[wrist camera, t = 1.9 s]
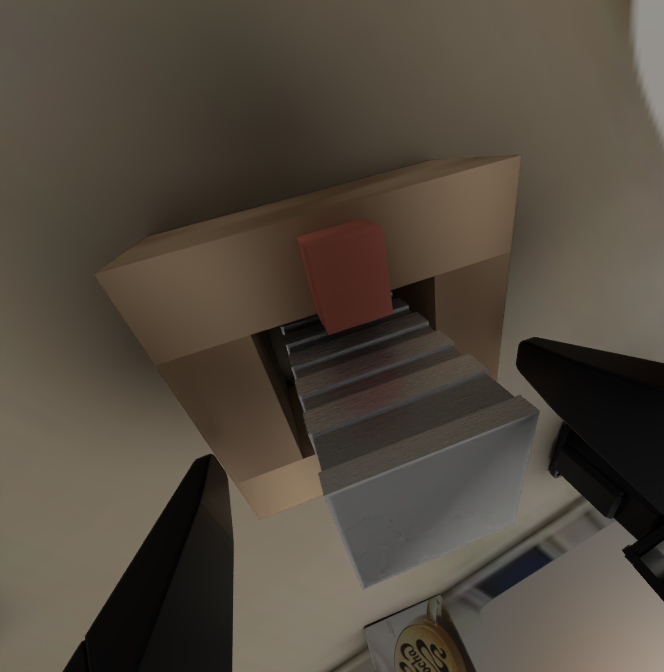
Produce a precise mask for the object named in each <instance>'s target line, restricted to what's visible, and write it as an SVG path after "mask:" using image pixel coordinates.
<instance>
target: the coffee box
mask: <svg viewBox="0 0 664 672" xmlns="http://www.w3.org/2000/svg"><path fill="white" fill-rule="evenodd" d="M364 631H365V635H366V639H367V643H368V647H369V651H370V654H371V658H372V662H373V665H374V669H375V672H477V671H476V669H475V667H474V664H473V662H472V660H471V658H470V656H469V654H468V652H467V650H466V648H465V646H464V644H463V641H462V639H461V637H460V635H459V633H458V631H457V629H456V627H455V625H454V623H453V621H452V619H451V616H450V614H449V612H448V610H447V608H446V606H445V603H444V601H443V599H442V596H441V595H437V596H435V597H433V598H431V599H428V600H426V601H424V602H422V603H420V604H417V605H415V606H413V607H411V608H409V609H406V610H404V611H402V612H400V613H398V614H395V615H393V616H391V617H389V618H386V619H384V620H382V621H380V622H378V623H375V624H373V625H371V626H369V627H366V628H365V629H364Z"/></svg>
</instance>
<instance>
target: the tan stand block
mask: <svg viewBox="0 0 664 672" xmlns="http://www.w3.org/2000/svg"><path fill="white" fill-rule="evenodd" d="M520 163H521V155H513V156H495V157H476V158H457V159H439V160H429V161H426V162H422V163H418V164H415V165H411V166H407V167H403V168H400V169H396V170H392V171H389V172H385V173H381V174H378V175H374V176H370V177H366V178H363V179H359V180H355V181H352V182H348V183H344V184H340V185H337V186H333V187H329V188H326V189H322V190H318V191H314V192H311V193H307V194H303V195H300V196H296V197H292V198H288V199H285V200H281V201H277V202H274V203H270V204H266V205H263V206H259V207H255V208H251V209H248V210H244V211H240V212H237V213H233V214H229V215H225V216H222V217H218V218H214V219H211V220H207V221H203V222H199V223H196V224H192V225H188V226H185V227H181V228H177V229H174V230H170V231H166V232H162V233H159V234H155V235H151V236H148V237H145V238H144V239H142V240H141V241H140V242H138V243H137V244H135V245H134V246H133V247H131V248H130V249H128V250H127V251H125V252H124V253H123V254H121V255H120V256H118V257H117V258H116V259H114V260H113V261H111V262H110V263H108V264H107V265H106V266H104V267H103V268H101V269H100V270H98V271H97V272H96V273H94V276H95V277H96V279H97V280H98V282H99V283H100V285H101V286H102V288H103V289H104V291H105V292H106V294H107V295H108V297H109V298H110V300H111V301H112V303H113V304H114V306H115V307H116V309H117V310H118V312H119V313H120V314H121V316H122V317H123V319H124V320H125V322H126V323H127V325H128V326H129V328H130V329H131V331H132V332H133V334H134V335H135V337H136V338H137V340H138V341H139V343H140V344H141V346H142V347H143V349H144V350H145V352H146V353H147V354H148V356H149V357H150V359H151V360H152V362H153V363H154V365H155V366H156V368H157V369H158V371H159V372H160V374H161V375H162V377H163V378H164V380H165V381H166V383H167V384H168V386H169V387H170V389H171V390H172V392H173V393H174V394H175V396H176V397H177V399H178V400H179V402H180V403H181V405H182V406H183V408H184V409H185V411H186V412H187V414H188V415H189V417H190V418H191V420H192V421H193V423H194V424H195V426H196V427H197V429H198V430H199V432H200V433H201V434H202V436H203V437H204V439H205V440H206V442H207V443H208V445H209V446H210V448H211V449H212V451H213V452H214V454H215V455H216V457H217V458H218V460H219V461H220V463H221V464H222V466H223V467H224V469H225V470H226V472H227V473H228V474H229V476H230V477H231V479H232V480H233V482H234V483H235V485H236V486H237V488H238V489H239V491H240V492H241V494H242V495H243V497H244V498H245V500H246V501H247V503H248V504H249V506H250V507H251V509H252V510H253V512H254V513H255V514H256V516H257V517H258V519H259V520H261V519H263V518H266V517H269V516H271V515H274V514H276V513H279V512H281V511H284V510H286V509H289V508H291V507H294V506H296V505H299V504H301V503H304V502H307V501H309V500H312V499H314V498H317V497H319V496H322V495H323V491H322V487H321V483H320V479H319V475H318V473H319V472H321V467H320V464H319V462H318V459H317V456H316V454H315V451H314V449H313V446H312V443H311V441H310V438H309V436H308V432H307V428H306V424H305V420H304V416H303V412H304V410H303V407H302V405H301V402H300V399H299V396H298V393H297V389H296V385H294V386H291V387H289V388H288V387H287V384H286V382H285V379H284V377H283V374H282V372H281V369H280V366H279V364H278V361H277V359H276V356H275V354H274V351H273V349H272V346H271V343H270V341H269V338H268V336H267V333H266V331H265V330H267V329H271V328H274V327H277V326H280V325H283V324H286V323H289V322H292V321H296V320H299V319H302V318H305V317H308V316H311V315H314V314H318V316H319V318H320V320H321V322H322V324H323V326H324V327H325V329H326V331H327V333H328V335H330V334H333V333H336V332H339V331H342V330H345V329H348V328H351V327H354V326H358V325H361V324H364V323H367V322H370V321H373V320H376V319H379V318H382V317H385V316H388V315H391V314H393V308H392V300H391V291H392V295H393V297H395V298H400V299H402V300H403V301H404V302H405V303H407V304H408V306H409V310H410V311H412V312H413V313H415V312H418V313H419V314H420V315H421V316H423V317H424V318H425V319H426V320H428V321H429V326H430V327H431V328H432V329H433V330H434V331H438V330H440V331H441V332H442V333H444V334H445V335H446V336H447V337H449V338H450V339H451V340H452V341H454V347H455V348H456V349H457V350H459V351H460V352H461V353H462V354H463V355H465V354H468V353H469V354H470V355H471V356H472V357H474V358H475V359H476V360H477V361H478V362H480V363H481V364H482V365H483V366H485V367H486V368H487V369H488V375H489V376H490V377H491V378H492V379H494V380H495V381H496V382H497V373H498V364H499V354H500V345H501V336H502V327H503V318H504V309H505V300H506V291H507V281H508V272H509V263H510V254H511V245H512V236H513V227H514V218H515V208H516V199H517V190H518V181H519V172H520Z"/></svg>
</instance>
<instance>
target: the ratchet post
mask: <svg viewBox="0 0 664 672" xmlns="http://www.w3.org/2000/svg"><path fill="white" fill-rule="evenodd" d="M391 300H392V308H393V314H391V315H388V316H385V317H382V318H379V319H376V320H373V321H370V322H367V323H364V324H361V325H358V326H354V327H351V328H348V329H345V330H342V331H339V332H336V333H333V334H330V335H328V333H327V331H326V329H325V327H324V326H323V324H322V322H321V320H320V318H319V316H318V314H314V315H311V316H308V317H305V318H302V319H299V320H296V321H292V322H289V323H286V324H283V325H280V326H281V329H282V332H283V337H284V341H285V345H286V348H287V351H288V354H289V355H288V357H289V361H290V365H291V369H292V371H293V374H294V377H295V380H294V381H295V385H296V389H297V393H298V396H299V399H300V402H301V405H302V407H303V410H304V412H303V416H304V420H305V424H306V428H307V432H308V436H309V438H310V441H311V443H312V446H313V449H314V451H315V454H316V456H317V459H318V462H319V464H320V467H321V472H319V473H318V475H319V479H320V483H321V487H322V491H323V495H324V498H325V500H326V503H327V505H328V507H329V510H330V512H331V515H332V517H333V520H334V522H335V524H336V527H337V529H338V532H339V534H340V537H341V539H342V541H343V544H344V546H345V549H346V551H347V553H348V556H349V558H350V561H351V563H352V566H353V568H354V570H355V573H356V575H357V578H358V580H359V583H360V585H361V587H362V590H364V589H366V588H368V587H371V586H373V585H375V584H378V583H380V582H382V581H384V580H387V579H389V578H391V577H393V576H396V575H398V574H400V573H402V572H405V571H407V570H409V569H412V568H414V567H416V566H418V565H421V564H423V563H425V562H427V561H430V560H432V559H434V558H437V557H439V556H441V555H443V554H446V553H448V552H450V551H452V550H455V549H457V548H459V547H462V546H464V545H466V544H468V543H471V542H473V541H475V540H477V539H480V538H482V537H484V536H487V535H489V534H491V533H493V532H496V531H498V530H500V529H502V528H505V527H507V526H509V525H511V524H514V521H515V517H516V512H517V508H518V503H519V499H520V495H521V490H522V486H523V481H524V477H525V473H526V468H527V464H528V459H529V455H530V451H531V446H532V442H533V437H534V433H535V429H536V424H537V420H538V415H539V410H538V409H537V408H536V407H534V406H533V405H532V404H531V403H529V402H528V401H527V400H526V399H524V398H523V397H522V396H521V395H519V396H516V397H514V396H513V395H512V394H510V393H509V392H508V391H507V390H506V389H504V388H503V387H502V386H501V385H500V384H498V383H497V382H496V381H495V380H494V379H492V378H491V377H490V376H489V375H488V369H487V368H486V367H485V366H483V365H482V364H481V363H480V362H478V361H477V360H476V359H475V358H474V357H472V356H471V355H470V354H469V353H468V354H465V355H463V354H462V353H461V352H460V351H459V350H457V349H456V348H455V347H454V341H452V340H451V339H450V338H449V337H447V336H446V335H445V334H444V333H442V332H441V331H440V330H438V331H434V330H433V329H432V328H431V327H430V326H429V321H428V320H426V319H425V318H424V317H423V316H421V315H420V314H419V313H418V312H415V313H413V312H412V311H410V310H409V306H408V304H407V303H405V302H404V301H403V300H402V299H400V298H395V297H393V295H392V291H391Z"/></svg>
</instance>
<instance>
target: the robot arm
mask: <svg viewBox="0 0 664 672" xmlns="http://www.w3.org/2000/svg"><path fill="white" fill-rule="evenodd" d="M516 366H517V369H518V370H519V372H520V373H521V374H522V375H523V376H524V378H525V379H526V380H527V381H528V382H529V383H530V384H531V386H532V387H533V388H534V389H535V390H536V391H537V392H538V394H539V395H540V396H541V397H542V398H543V399H544V400H545V401H546V403H547V404H548V405H549V406H550V407H551V408H552V409H553V410H554V411H555V412H556V413H557V414H558V415H559V416H560V417H561V418H562V419H563V420H564V421H565V422H566V424H565V425H564V427H563V430H562V433H561V437H560V440H559V443H558V447H557V450H556V453H555V457H554V460H553V463H552V467H551V470H550V474H551V475H552V476H553V477H554V478H558V477H561V476H563V477H564V478H565V479H566V480H567V481H568V482H569V483H570V484H571V485H572V486H573V487H574V488H575V489H576V490H577V491H578V492H579V493H580V494H582V495H583V496H584V497H585V498H586V499H587V500H588V501H589V502H590V503H591V504H592V505H593V506H594V507H595V508H596V509H597V510H598V511H599V512H600V513H601V514H603V515H604V516H605V517H607V518H609V519H612V518H614V519H615V520H616V521H618V522H619V523H620V524H621V525H622V526H623V527H624V528H625V529H626V530H627V531H628V532H629V533H630V534H632V535H633V536H634V537H635V538H636V539H637V540H638V541H637V542H636V543H634V544H633V545H628V546H626V547H625V548H624V549H622V551H623V552H624V554H625V557H626V558H627V559H628V561H630V562H631V564H632V565H633V566H634V568H635V569H636V570H637V571H638V572H639V573H640V575H641V576H642V577H643V578H644V579H645V580H646V582H647V583H648V584H649V585H650V586H651V587H652V588H653V590H654V591H655V592H656V593H657V594H658V595H659V596H660V598H661V599H662V600H663V601H664V363H661V362H656V361H651V360H646V359H641V358H636V357H631V356H626V355H621V354H616V353H612V352H607V351H602V350H597V349H592V348H587V347H582V346H577V345H572V344H567V343H562V342H558V341H553V340H548V339H543V338H538V337H532V338H529V339H526V340H524V341H521V342H520V344H519V346H518V353H517V360H516ZM233 567H234V540H233V527H232V517H231V506H230V496H229V485H228V478H227V474H226V472H225V470H224V469H223V467H222V466H221V464H220V463H219V461H218V460H217V459H216V457H215V456H214V455H213V454H208V455H205V456H203V457H200V458H197V459H196V460H195V461H194V462H193V464H192V465H191V467H190V469H189V470H188V472H187V473H186V475H185V477H184V478H183V480H182V481H181V483H180V485H179V486H178V488H177V489H176V491H175V493H174V494H173V496H172V497H171V499H170V501H169V502H168V504H167V505H166V507H165V509H164V510H163V512H162V513H161V515H160V517H159V518H158V520H157V521H156V523H155V525H154V526H153V528H152V529H151V531H150V533H149V534H148V536H147V537H146V539H145V541H144V542H143V544H142V545H141V547H140V549H139V550H138V552H137V553H136V555H135V557H134V558H133V560H132V561H131V563H130V565H129V566H128V568H127V569H126V571H125V573H124V574H123V576H122V577H121V579H120V581H119V582H118V584H117V585H116V587H115V589H114V590H113V592H112V594H111V595H110V597H109V598H108V600H107V602H106V603H105V605H104V606H103V608H102V610H101V611H100V613H99V614H98V616H97V618H96V619H95V621H94V622H93V624H92V626H91V627H90V629H89V630H88V632H87V634H86V635H85V640H84V641H82V642H81V643H80V645H79V646H78V648H77V649H76V651H75V653H74V654H73V656H72V657H71V659H70V661H69V662H68V664H67V665H66V667H65V669H64V670H63V672H232V646H233Z"/></svg>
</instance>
